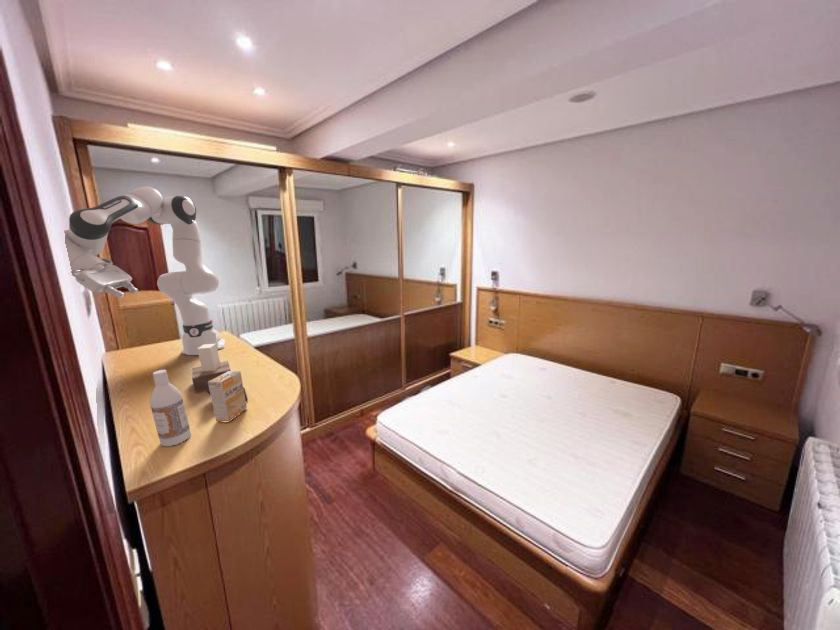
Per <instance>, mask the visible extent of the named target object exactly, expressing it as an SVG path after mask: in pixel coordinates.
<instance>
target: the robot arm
mask: <svg viewBox="0 0 840 630" xmlns="http://www.w3.org/2000/svg"><path fill="white" fill-rule="evenodd" d="M196 207H197V206H196V205H195V203H194V202H193V200H192V199H191V198H189V197H187V196H184V195H175V196H165V197H163V196H162V194H161V193H160V192H159V191H158V190H157V189H155V188H153V187H151V186H142V187H141V186H140V187H136V188H135V189H132V190H130V191H127V192H126V193H124V194H123V195H120V196H116V197H114V198H111V199H108V200H107V201H104V202H102V203H100V204H98V205H95V206H92V207H87V208H81V209H77V210H75V211H74V210H73V212H72V213H70V215H69V218H68V219H69V220H68V222H69V223H68V225H69V226H68V229H66V230H65V229H64V233H65V244H66V248H67V252H68V257H69V261H70V266H71V270H72V271H71V273H72V274H71V275H72V276H73V277H74V278H75V282H77V283H79V284H80V285H82V286H83V287H84V288H86V289H88V290H89V291H91V292H92V293H95V294H98V293H102V292H105V293H106V294H109V295H112V296H115V297H116V298H118V299H120V298H123V297H124V296H125V292H122V290H117V289H118V288H122V287H123V288H125V289H127V290H128V291H129V292H130V293H132V294H136V293H138V291H139V289H138V288H137V287H135V286H134V285H133V284H132V283H131V282H132V280H133V277H132V276H131V275H130V274H128V273H127V272H125V271H124V270H123V269H122V268H120V267H118V266H117V265H115V264H114V262H113V261H111V260H110V259H106V258H101V257H98V255H100V254H102V252H103V251H104V249H105V246H106V242H107V238H108V235H109V232H111V231H110V230H111V229H112V225H113V223H115V222H116V221H119V219H120V220H122V221H123V222H125V223H128V224H132V225H139V224H142V223H145V222H146V221H148V222H150V223H151V224H154V225H159V226H160V225H170V227H172V238H171V239H172V240H171V242H172V254H173V255H172V257H173V258H174V260H176V261H177V262H178V263H181V264H182V265H184V267H185V270H184V271H183V270H182V271H180V270H179V271H170V272H166V273H163V274H161V275H159V277H158V279H157V282H156V285H157V288H158V290H159V291H160V292H161V293H162V294H163V295H165V296H167V297H168V298H170V299H171V300H172V301H173V302H174V303H175V305H176V306H177V308H178V310H179V313H180V315H181V319H182V320H181V321H182V330H183V333H184V334H183V335H182V336H181V343H182V348H183V349H182V350H181V351H180V354H182V355H187V356H199V354H198V350H197V349H198V348H199V347H201V346H202V345H205V344H216V346H217V350H218V351H219V350H221V349H224V348H225V346H226V344H225V343H226V338H221V337H220V332H219V331H218V330H217V329H215V328H214V324H213V322H214V321H213V319H211V318H210V314H209V308H208V306H207V304H206V303H205V302H202V301H200V300H198V299H197V298H196V297H195V295H205V294H209V293H212V292H215V291H216V290H217V289H218V287H219V278H218V276H217V275H216V274H215V273H214V272H213V271H212V270H211V269H209V268H208V267H207V266H206V264H205V261H204V260H203V255H202V242H201V241H202V240H201V235H200V234H201V233H200V229H199V226H198V225H199V224H198V223H197V221H196V218H197V208H196Z"/></svg>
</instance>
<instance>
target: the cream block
mask: <svg viewBox="0 0 840 630" xmlns="http://www.w3.org/2000/svg"><path fill="white" fill-rule="evenodd" d="M197 350H198V354H199V355H198V358H199V362H200V365H201V367H202V372H205V371H215V370H217V369H218V368H219V367H220V366H221V365H220V362H221V360H220V356H219V352H218V351H219V349H218V350H217V346H216V344H205V345H202V346H201V347H199V348H198V349H197Z"/></svg>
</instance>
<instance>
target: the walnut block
mask: <svg viewBox="0 0 840 630" xmlns="http://www.w3.org/2000/svg"><path fill="white" fill-rule="evenodd" d="M220 365H221V366H220V367H219V368H218V369H217V370H215V371H205V372H202V367H201V366H197V367H192V368H191V369H192V371H191V373H192V375H191V379H192V383H193V384H192V385H193V388H194V393H195V394H198V393H203V392H207V391H206V379H209V380H212V379H214V378H216V377H218V376H220V375H222V374H224V373H225V372H227V371H232V370H231V367H230V364H229V360H225V361H220Z"/></svg>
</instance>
